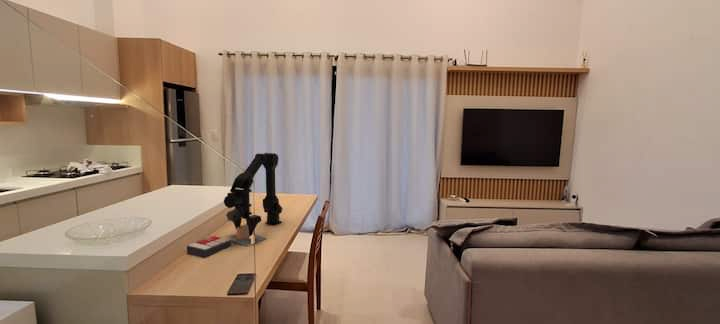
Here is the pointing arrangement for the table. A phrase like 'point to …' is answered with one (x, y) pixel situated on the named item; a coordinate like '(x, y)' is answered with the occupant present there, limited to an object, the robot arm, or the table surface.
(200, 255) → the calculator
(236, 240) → the mat
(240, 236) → the block
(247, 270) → the table surface
